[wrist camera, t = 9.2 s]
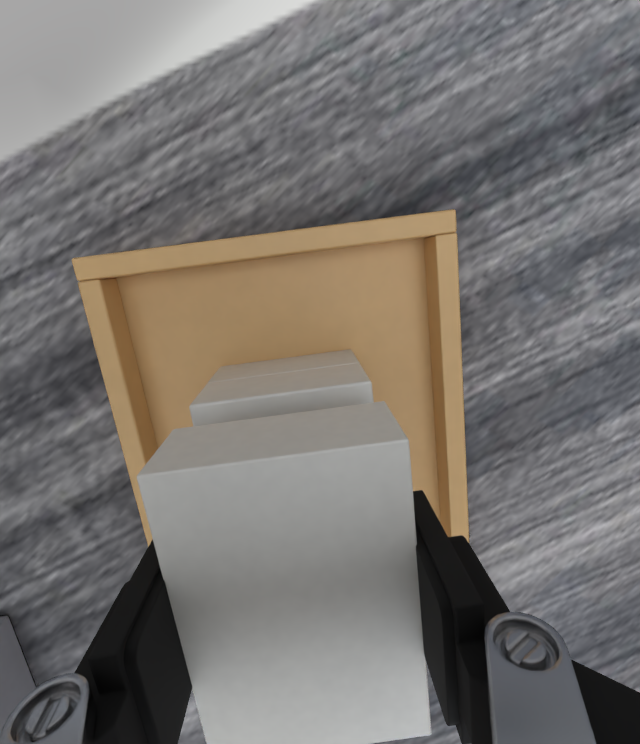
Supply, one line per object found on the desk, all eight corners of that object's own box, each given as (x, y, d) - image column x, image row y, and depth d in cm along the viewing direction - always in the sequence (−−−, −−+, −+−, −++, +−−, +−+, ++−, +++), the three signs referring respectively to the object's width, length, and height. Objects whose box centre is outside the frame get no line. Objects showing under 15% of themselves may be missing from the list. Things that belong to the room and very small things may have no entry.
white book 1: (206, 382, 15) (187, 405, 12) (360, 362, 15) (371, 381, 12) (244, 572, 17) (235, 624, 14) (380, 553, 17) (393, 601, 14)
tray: (98, 259, 16) (69, 258, 14) (437, 215, 17) (456, 208, 14) (189, 619, 21) (177, 657, 19) (455, 581, 21) (472, 615, 19)
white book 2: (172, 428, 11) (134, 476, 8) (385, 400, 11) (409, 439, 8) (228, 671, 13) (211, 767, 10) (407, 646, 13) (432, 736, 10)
